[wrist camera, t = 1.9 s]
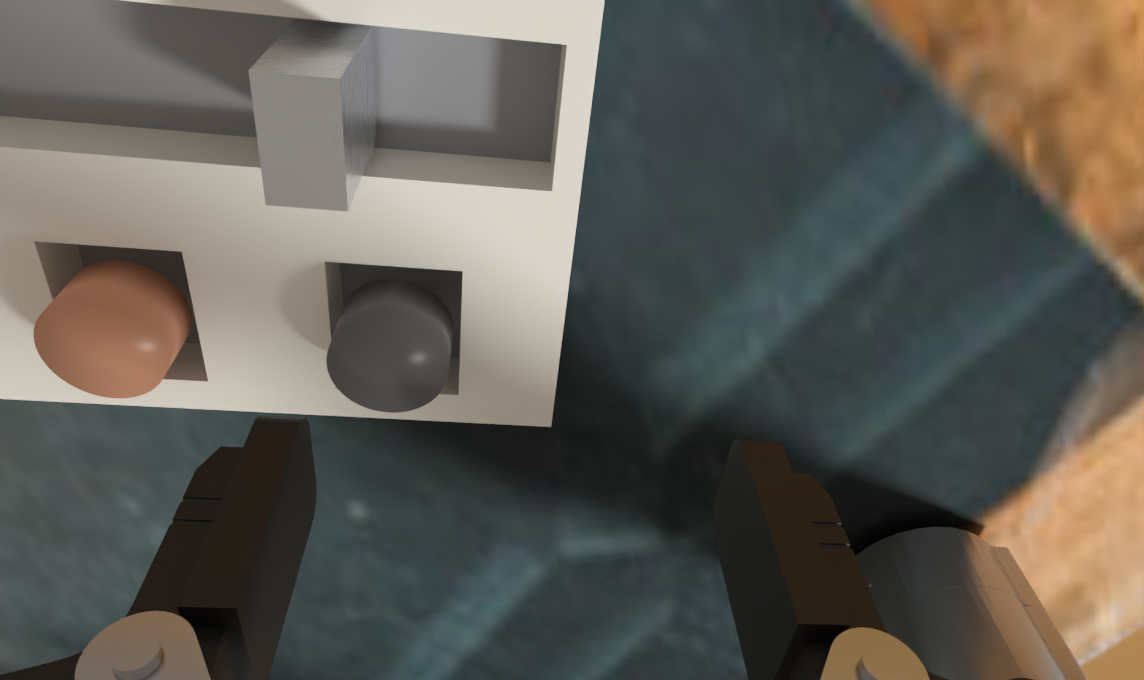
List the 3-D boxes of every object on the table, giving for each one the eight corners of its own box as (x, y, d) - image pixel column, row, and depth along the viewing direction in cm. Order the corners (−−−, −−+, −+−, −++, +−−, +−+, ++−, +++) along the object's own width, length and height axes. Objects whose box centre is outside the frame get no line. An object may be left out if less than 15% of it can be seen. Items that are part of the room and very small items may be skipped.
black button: (454, 283, 30) (449, 322, 28) (452, 373, 33) (447, 415, 31) (336, 275, 30) (321, 314, 28) (343, 367, 32) (330, 409, 30)
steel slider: (372, 24, 26) (339, 78, 22) (376, 140, 28) (347, 211, 24) (297, 16, 26) (248, 70, 21) (307, 134, 28) (265, 205, 24)
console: (597, -46, 27) (607, -21, 24) (549, 369, 37) (551, 427, 34) (-135, -128, 25) (-235, -112, 21) (32, 339, 35) (-19, 397, 32)
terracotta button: (181, 264, 29) (153, 303, 27) (200, 359, 32) (177, 401, 30) (54, 255, 29) (17, 294, 27) (84, 352, 31) (52, 395, 29)
